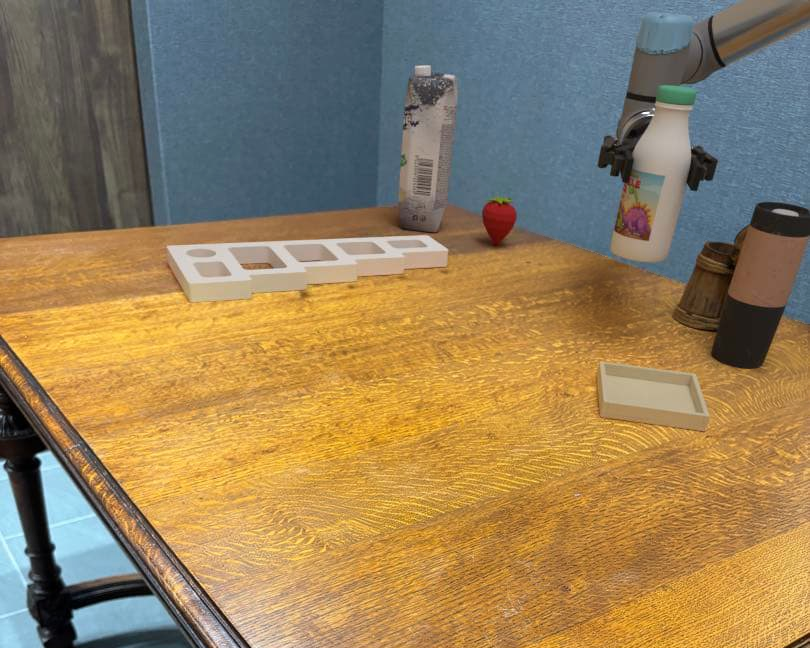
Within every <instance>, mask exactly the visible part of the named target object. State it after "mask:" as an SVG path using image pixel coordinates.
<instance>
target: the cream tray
mask: <svg viewBox="0 0 810 648" xmlns="http://www.w3.org/2000/svg"><path fill="white" fill-rule="evenodd" d="M597 366H598V367H597V371H596V386H597V396H598V397H597V398H598V409H599V417H600V418H604V419H605V418H606V419H613V420H620V421H627V422H633V423H634V422H635V423H640V424H648V425H656V426H661V427H662V426H663V427H670V428H677V429H685V430H691V431H699V432H706V431H707V427H708V424H709V421H710V418H711V415H710V412H709V408H708V406H707V403H706V399H705V397H704V394H703V391H702V388H701V385H700V382H699V379H698V376H697V373H691V372H684V371H675V370H669V369H661V368H655V367H654V368H653V367H647V366H639V365H631V364H625V363H617V362H616V363H615V362H609V361H602V360H599V362H598V365H597Z"/></svg>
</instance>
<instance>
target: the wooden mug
mask: <svg viewBox="0 0 810 648" xmlns="http://www.w3.org/2000/svg"><path fill="white" fill-rule="evenodd" d="M749 225H750V223H749V224H748V225H745V227H743V228H742V229H741V230H740V231H739V232H738V233H737V234H736V236H735V238H734V240H733V243H729V242H723V241H712V240H711V241H706V242H705V243H704V244H703V248H702V249H701V251H700V252H699V253H698V255H697V257H696V259H695V265H694V267H693V270H692V273H691V275H690V277H689V279H688V282H687V284H686V286H685V289H684V290H683V293H682V296H681V298H680V300H679V302H678V304H676V306H675V308H674V310H673V313H672V317H673V318H674V320H676V321H677V322H679V323H680V324H683V325H685V326H687V327H689V328H693V329H698V330H703V331H709V332H717V329H718V326H719V322H720V318H721V315H722V311H723V308H724V304H725V300H726V297H727V294H728V290H729V287H730V284H731V281H732V278H733V274H734V271H735V268H736V265H737V262H738V259H739V256H740V253H741V250H742V247H743V243H744V240H745V237H746V234H747V231H748V228H749Z"/></svg>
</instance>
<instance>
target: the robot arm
mask: <svg viewBox="0 0 810 648" xmlns="http://www.w3.org/2000/svg"><path fill="white" fill-rule="evenodd" d="M808 28H810V0H740V1H738V2H735V3H734V4H732V5H730V6H728V7H726V8H724V9H722V10H720V11H719V12H717V13H714V14H713V15H711V16H710V17H707V18H704V19H703V20H701V21H699V22H697V23H695V20H694V17H692V16H691V15H687V14H679V13H671V12H670V13H669V12H658V11H649V12H647V13H646V14H644V16H643V18H642V20H641V24H640V27H639V31H638V36H637V37H636V39H635V50H634V54H633V59H632V65H631V70H630V75H629V80H628V84H627V89H626V95H625V97H624V102H623V107H622V112H621V117H620V118H619V119H618V122H617V127H616V132H615V137H613V136H612V135H610V134H607V135H604V136H603V142H602V145H601V146H600V150H599V156H598V160H597V168H599V169H606V168H607V167H608V166H611V168H610V171H609V176H611V177H616V178H617V177H619V176H620V179H621V181H622V183H623V184H624V183H629V180H630V175H631V171H632V166H633V162H634V158H633V156H632V153H633V151H634V148H635V146H636V145H637V143H638V141H639V140H640V138H641V137H642V135H643V134H644V132H645V131H646V129H647V127H648V126H649V124H650V122H651V120H652V118H653V116H654V113H655V109H656V106H655V103H656V96H657V91H658V88H659V87H660V86H662V85H671V86H681V85H695V84H697V83H699V82H702V81H704V80H706V79H708V78H709V77H710V76H711V75H713V74H714V73H716V72H718V71H720V70H722V69H724V68H726V67H728V66H729V65H731V64H734V63H737V62H738V61H740V60H744V59H745V58H747V57H749V56H752V55H753V54H756V53H757V52H759V51H762V50H763V49H764V50H765V49H766V48H768V47H770V46H772V45H775V44H777V43H779V42H781V41H783V40H785V39H787V38H790V37H791V36H793V35H796V34H798V33H800V32H802V31H804V30H806V29H808ZM718 162H719V159H718V158H716V157H715V156H713V155H712V154H710V153H708V152H707V151H706V150H704V147H702V146H701V145H697V146H691V164H690V170H689V175H688V179H687V184H686V185H687V186H688V188H689V189H690V191H692V192H698V190H699V186H700V183H701V182H704V181H706V182H710V181H713V180H714V177H715V173H716V170H717V166H718V164H719V163H718Z"/></svg>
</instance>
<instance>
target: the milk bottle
mask: <svg viewBox="0 0 810 648" xmlns="http://www.w3.org/2000/svg"><path fill="white" fill-rule="evenodd" d="M697 94H698V93H697V90H696V89H695V88H693V87H692V88H691V87H688V86H687V87H686V86H681V85H680V86H671V85H662V86H660V87H659V88H658V91H657V96H656V103H655V106H656V109H655V113H654V116H653V118H652V120H651V122H650V124H649V126H648V127H647V129H646V131H645V132H644V134H643V135H642V137H641V138H640V140H639V141H638V143H637V145H636V146H635V148H634V151H633V153H632V156H633V158H634V162H633V166H632V171H631V175H630V180H629V183H623V186H622V191H621V196H620V199H619V204H618V209H617V214H616V217H615V222H614V227H613V232H612V237H611V243H610V245H609V246H610V251H611V253H612V254H614V255H615V256H617V257H619V258H623V259H626V260H629V261H635V262H644V263H660V262H663V261H665V260H666V259H667V257H668V256H669V253H670V250H671V246H672V242H673V238H674V234H675V230H676V227H677V223H678V219H679V215H680V211H681V207H682V205H683V199H684V195H685V192H686V188H687V185H688V184H687V179H688V175H689V170H690V164H691V147H692V146H691V142H690V132H689V119H690V118H689V117H690V113H691V111H692V110H694V104H695V101H696V98H697Z"/></svg>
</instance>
